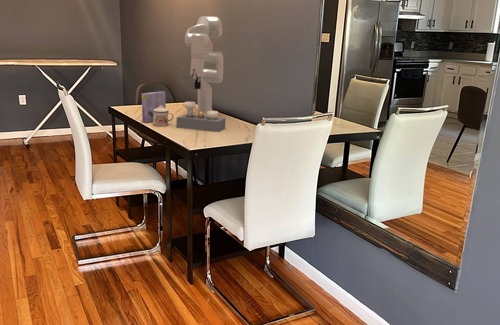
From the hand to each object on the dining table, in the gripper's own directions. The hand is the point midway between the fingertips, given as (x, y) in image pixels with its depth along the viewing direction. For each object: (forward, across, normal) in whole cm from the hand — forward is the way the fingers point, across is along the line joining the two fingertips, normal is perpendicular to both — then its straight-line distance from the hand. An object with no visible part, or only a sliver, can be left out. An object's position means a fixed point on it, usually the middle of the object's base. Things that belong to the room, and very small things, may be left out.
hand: (197, 88), depth 266 cm
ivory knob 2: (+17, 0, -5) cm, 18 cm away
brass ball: (+17, 0, +2) cm, 17 cm away
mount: (+23, 0, +2) cm, 23 cm away
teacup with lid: (+23, +2, -21) cm, 31 cm away
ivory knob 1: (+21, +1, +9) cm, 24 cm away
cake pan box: (+23, -8, -31) cm, 40 cm away
